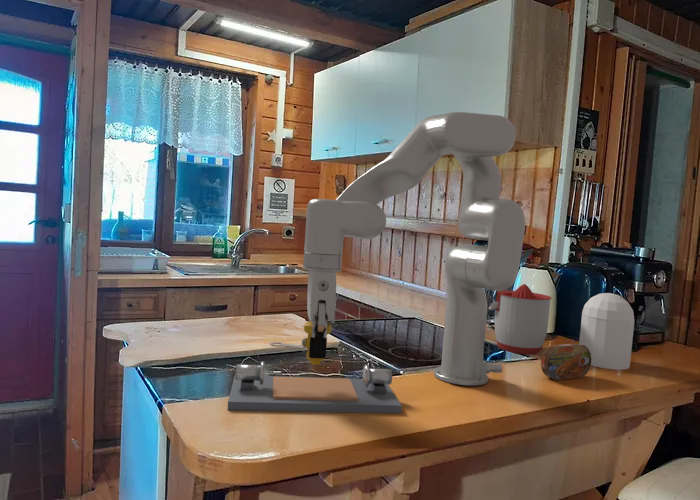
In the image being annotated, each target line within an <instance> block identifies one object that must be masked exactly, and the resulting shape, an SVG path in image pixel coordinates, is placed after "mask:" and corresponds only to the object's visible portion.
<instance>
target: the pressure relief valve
mask: <svg viewBox="0 0 700 500" xmlns="http://www.w3.org/2000/svg"><path fill="white" fill-rule="evenodd" d="M315 321H318V319H316V318H315ZM316 326H318V325H315V327H316ZM303 331H304V332H305V333H306V334H307V337H303V339H302V340H301V345H299V344H291V343H283V342H279V341H274V342H270V343H269V345H270V346H271V347H277V348H278V347H283V348H292V349H293V348H294V349H299V350H300V349H301V350H305V349H306V348H308V349H307V350H306V356H305V357H306V359H307V360H308V361H310V365H313V366H318V365H320V364H321V362H323V361H324V360H325V358H324V359H321V358H310V357H309V347H310V337H312V322H311V321H310V320H309V321H306V322H304V325H303ZM331 332H332V324H331V323H329V322H327V335H329V334H330V333H331ZM308 336H309V337H308Z"/></svg>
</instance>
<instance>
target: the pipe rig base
mask: <svg viewBox="0 0 700 500" xmlns="http://www.w3.org/2000/svg"><path fill="white" fill-rule="evenodd" d="M235 377H236V374H234V376H233V380H232V385H231V388H230V393H229V396H228V400H227V411H262V412H263V411H265V412H274V411H275V412H308V413H312V412H315V413H317V412H319V413H356V414H357V413H364V414H365V413H367V414H368V413H369V414H374V413H375V414H402V404H401V402H400V401H399V399H398V397H397V396H396V394H395V393H394V391H393V390H392V388H391V387H390V385H388V384H385V386H386V394H374V393H373V391H372V390H371V384H369V385H368V387H367V388H366V387H364V386H363V378H349V377H348V378H347V377H346V378H345V377H316V376H312V377H311V376H281V375H277V376H276V375H264V379H263V385H260V381H254V388H253V391H240V390H241V380H235Z"/></svg>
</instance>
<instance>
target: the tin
mask: <svg viewBox="0 0 700 500" xmlns="http://www.w3.org/2000/svg"><path fill="white" fill-rule="evenodd" d="M540 362H541V363H540V365H541V371H542V373H543V374H544V375H545V376H546V377H547V378H549V379H552V380H555V381H565V380H574V379H581V378H583V377H585V376H586V375H587V374H588V372H589V371H590V368H591V366H592V365H591V354H590V351H589V349H588V348H587V347H586V346H584V345H579V343H568V344H567V343H566V344H554V345H553V344H552V345H549V346H548V347H546V348H545V349H544V350H543V352H542V354H541V360H540Z"/></svg>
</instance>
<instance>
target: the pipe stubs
mask: <svg viewBox="0 0 700 500" xmlns="http://www.w3.org/2000/svg"><path fill="white" fill-rule="evenodd" d="M260 363H261V364H236V367H235V375H236V377H235V380H241V390H240V391H253V388H254V381H260V385H263V379H264V376H265V361H261V362H260ZM362 368H363V369H362V379H363V386H364V387H366V388H367V387H368V385H369V384H371V390H372V391H373V393H374V394H386V386H385V384H388V385H389V386H390V385H392V382H393V372H392V368H389V369H388V368H370V366H369V365H368V364H364V365H363V367H362Z"/></svg>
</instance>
